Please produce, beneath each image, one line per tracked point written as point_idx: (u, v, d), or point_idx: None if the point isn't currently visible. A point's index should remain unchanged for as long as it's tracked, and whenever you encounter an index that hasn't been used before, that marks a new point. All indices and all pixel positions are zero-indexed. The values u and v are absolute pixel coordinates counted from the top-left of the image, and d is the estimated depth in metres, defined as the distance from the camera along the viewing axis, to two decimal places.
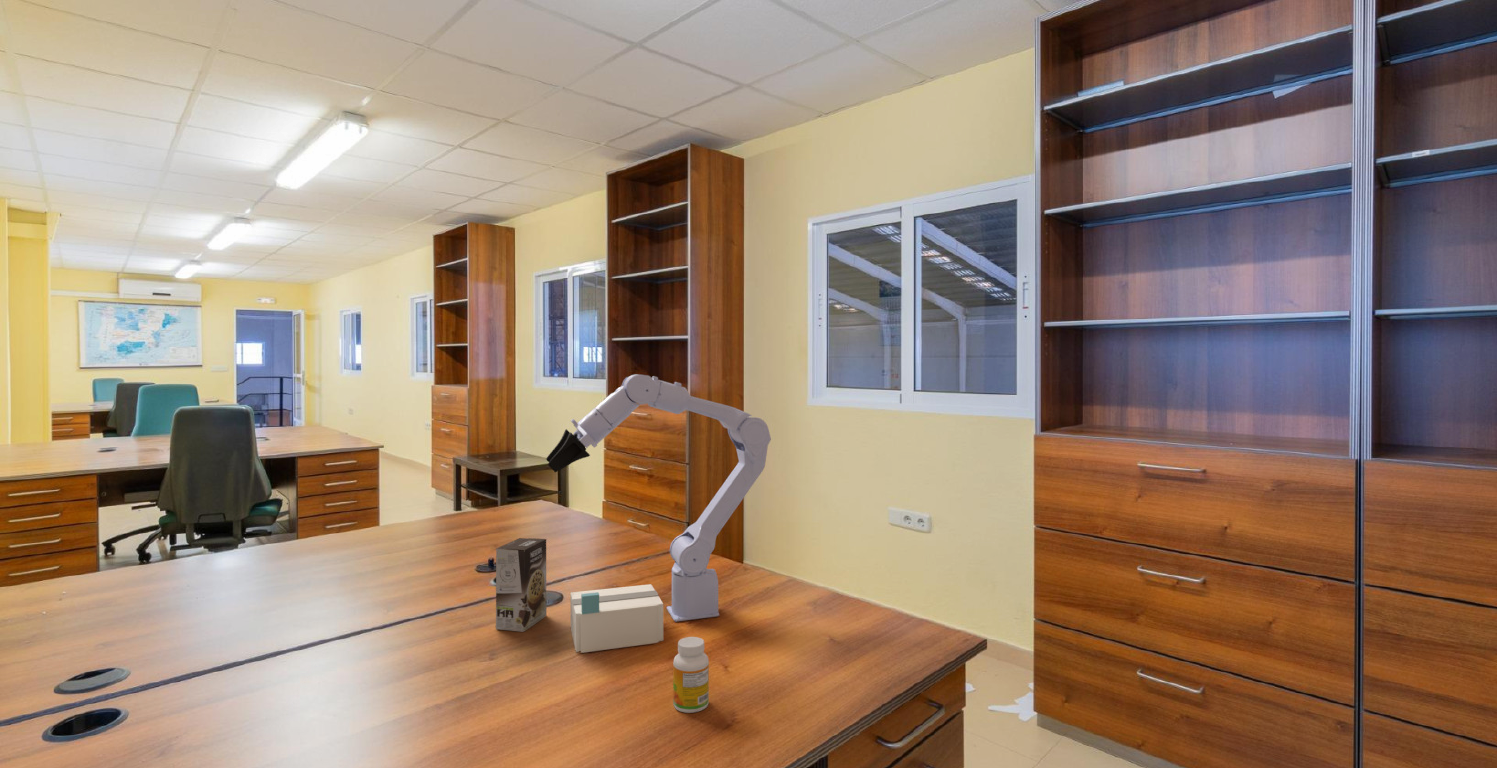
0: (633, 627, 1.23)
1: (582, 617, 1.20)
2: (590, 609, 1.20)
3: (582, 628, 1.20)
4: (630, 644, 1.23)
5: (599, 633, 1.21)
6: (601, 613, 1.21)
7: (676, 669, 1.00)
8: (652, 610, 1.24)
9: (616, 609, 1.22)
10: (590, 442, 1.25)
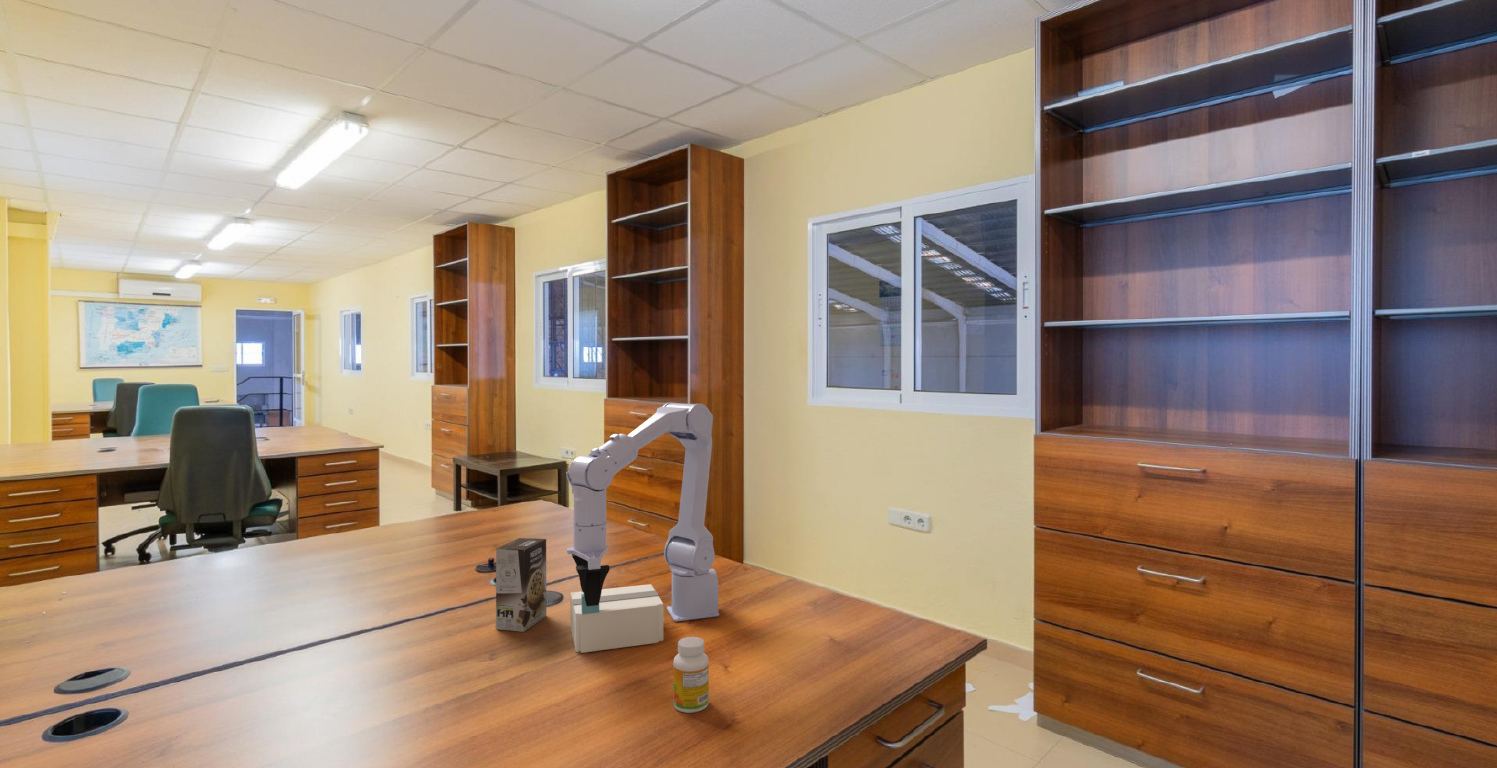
0: (633, 627, 1.23)
1: (582, 617, 1.20)
2: (590, 609, 1.20)
3: (582, 628, 1.20)
4: (630, 644, 1.23)
5: (599, 633, 1.21)
6: (601, 613, 1.21)
7: (676, 669, 1.00)
8: (652, 610, 1.24)
9: (616, 609, 1.22)
10: (598, 561, 1.14)
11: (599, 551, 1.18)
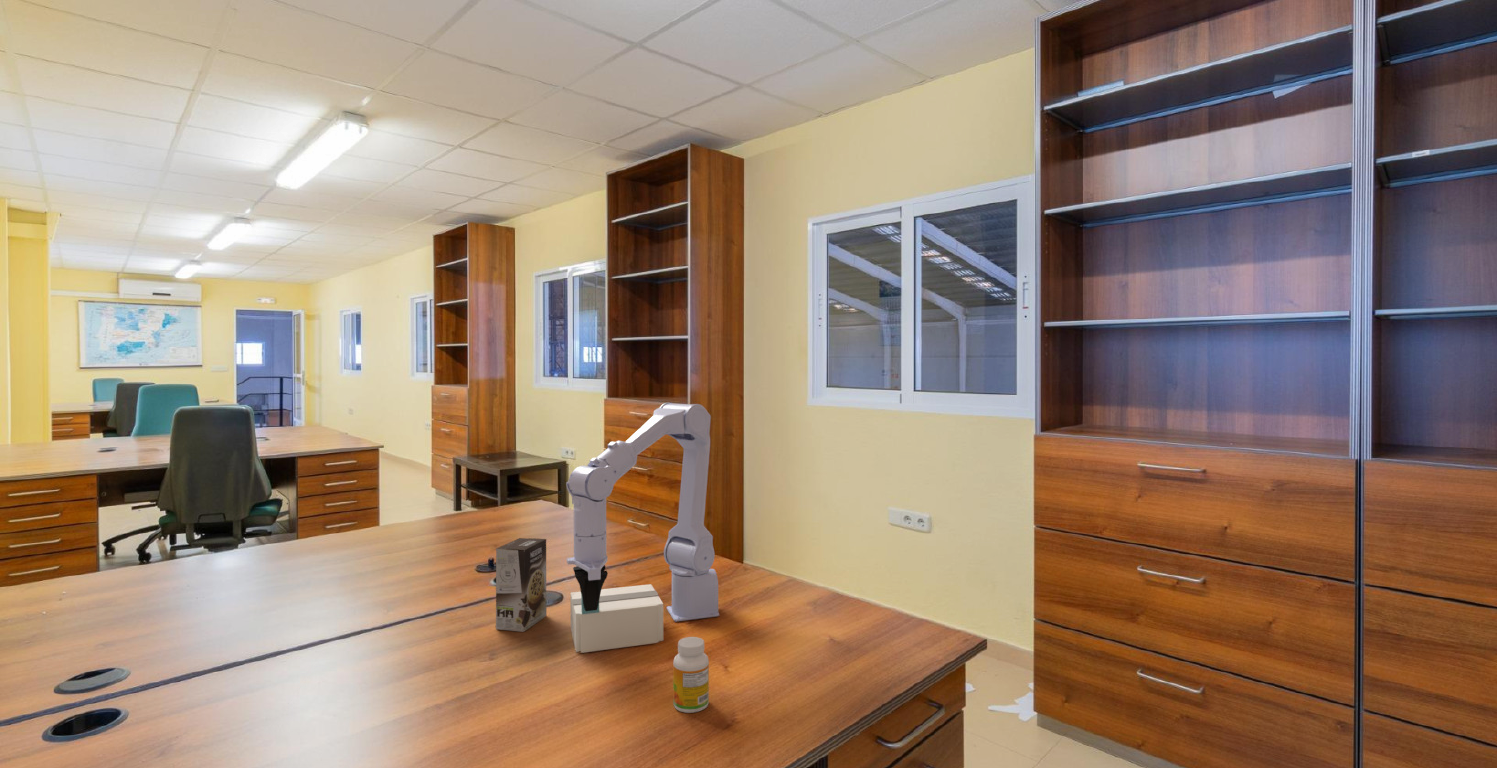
0: (633, 627, 1.23)
1: (582, 617, 1.20)
2: None
3: (582, 628, 1.20)
4: (630, 644, 1.23)
5: (599, 633, 1.21)
6: (601, 613, 1.21)
7: (676, 669, 1.00)
8: (652, 610, 1.24)
9: (616, 609, 1.22)
10: (598, 572, 1.14)
11: (599, 561, 1.18)
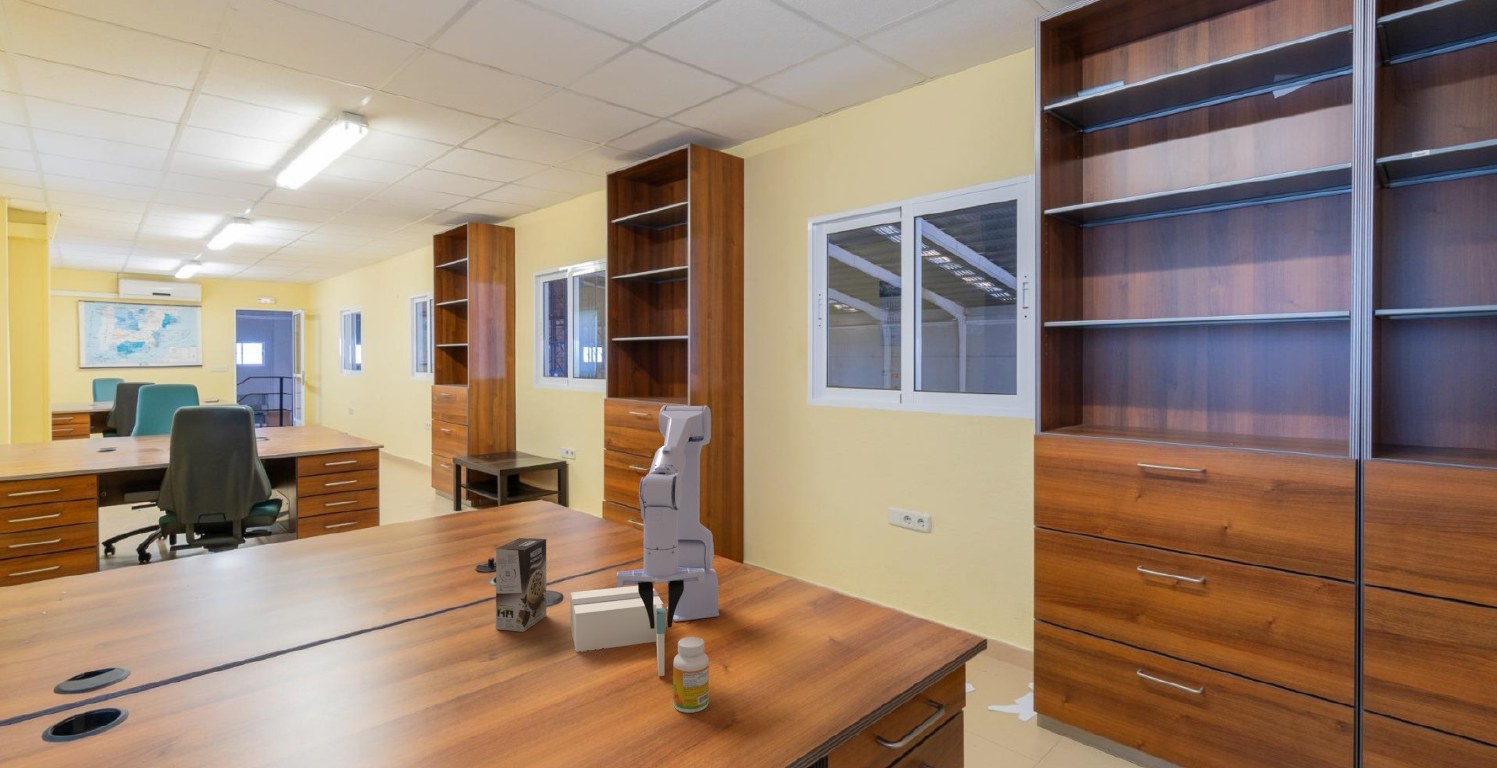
0: None
1: None
2: None
3: None
4: None
5: None
6: None
7: (676, 669, 1.00)
8: None
9: None
10: None
11: None
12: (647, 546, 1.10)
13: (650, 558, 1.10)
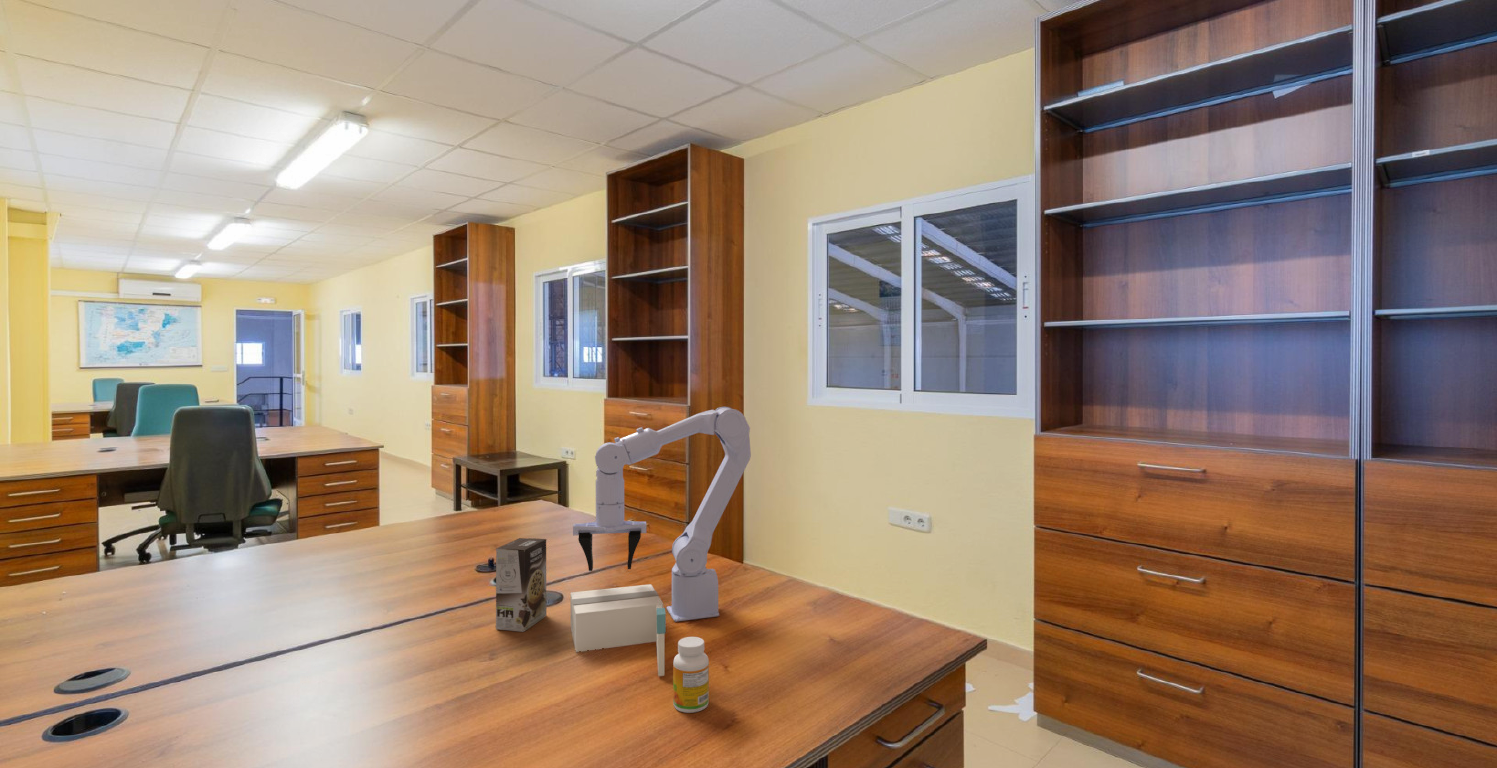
0: None
1: None
2: None
3: None
4: None
5: None
6: None
7: (676, 669, 1.00)
8: None
9: None
10: None
11: (623, 522, 1.38)
12: None
13: (600, 511, 1.34)
